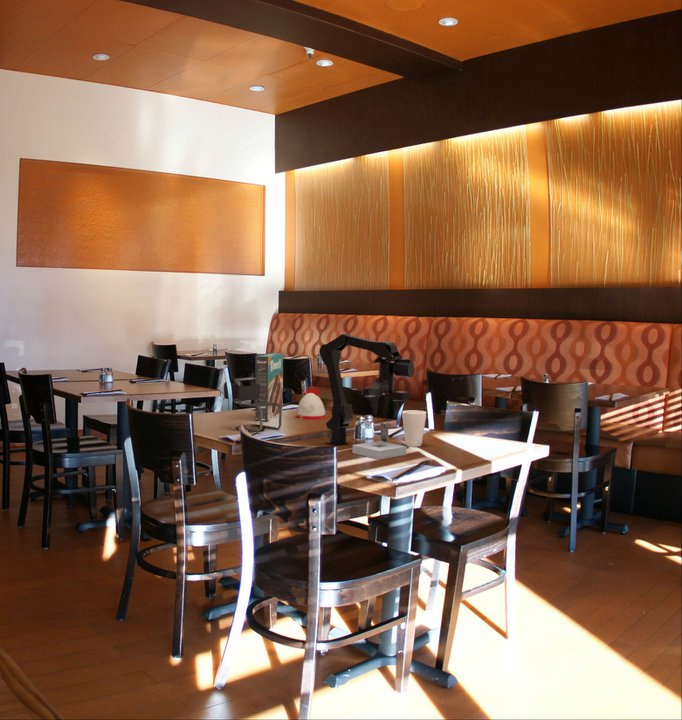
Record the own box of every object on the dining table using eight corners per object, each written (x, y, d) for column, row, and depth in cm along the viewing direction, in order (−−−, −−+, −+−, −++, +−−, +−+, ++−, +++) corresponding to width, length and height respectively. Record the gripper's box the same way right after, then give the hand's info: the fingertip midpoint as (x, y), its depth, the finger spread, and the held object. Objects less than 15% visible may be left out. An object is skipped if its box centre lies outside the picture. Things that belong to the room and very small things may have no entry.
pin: (378, 447, 293) (379, 422, 293) (384, 446, 295) (384, 422, 295) (383, 448, 291) (384, 423, 290) (389, 447, 293) (390, 423, 292)
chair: (253, 425, 339) (253, 376, 337) (282, 430, 328) (282, 379, 327) (231, 429, 329) (232, 378, 327) (260, 434, 318) (261, 381, 317)
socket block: (352, 453, 282) (352, 445, 281) (380, 448, 291) (380, 440, 290) (378, 459, 271) (378, 451, 271) (406, 454, 280) (406, 446, 280)
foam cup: (397, 443, 302) (398, 410, 301) (418, 442, 305) (419, 409, 304) (408, 447, 293) (408, 414, 292) (429, 446, 297) (430, 413, 296)
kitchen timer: (321, 420, 358) (321, 388, 357) (292, 418, 361) (293, 387, 360) (328, 416, 372) (328, 385, 370) (301, 414, 375) (301, 384, 374)
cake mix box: (267, 422, 350) (268, 356, 348) (255, 421, 352) (255, 356, 349) (282, 415, 372) (282, 353, 369) (270, 414, 373) (271, 353, 371)
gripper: (353, 374, 287) (352, 415, 289) (394, 379, 276) (392, 421, 277) (371, 372, 296) (369, 412, 297) (411, 377, 284) (409, 418, 286)
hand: (384, 416), depth 289 cm, fingers open, 9 cm apart
